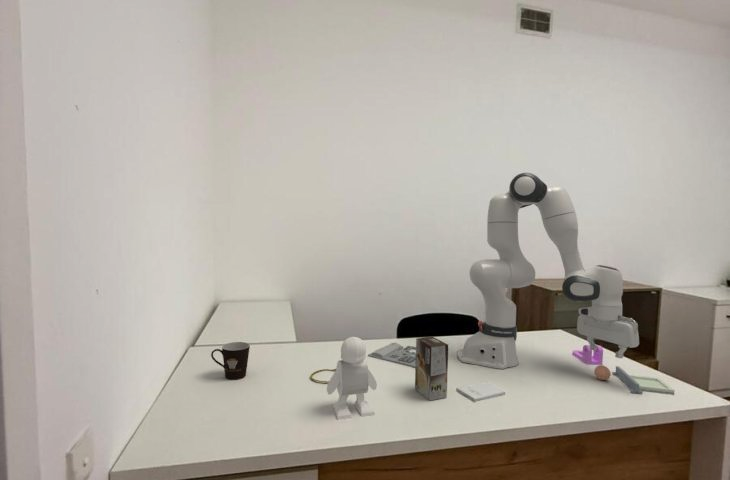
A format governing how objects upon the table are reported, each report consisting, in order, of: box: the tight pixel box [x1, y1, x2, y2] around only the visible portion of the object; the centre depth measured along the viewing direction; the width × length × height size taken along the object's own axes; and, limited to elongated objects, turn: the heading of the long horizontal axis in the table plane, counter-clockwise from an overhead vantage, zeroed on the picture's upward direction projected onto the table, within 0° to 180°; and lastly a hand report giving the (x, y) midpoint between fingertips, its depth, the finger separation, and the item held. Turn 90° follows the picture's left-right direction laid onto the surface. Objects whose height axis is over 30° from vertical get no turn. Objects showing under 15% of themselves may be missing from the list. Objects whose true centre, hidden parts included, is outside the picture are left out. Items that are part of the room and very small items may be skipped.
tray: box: [628, 374, 675, 395], centre depth 127 cm, size 10×10×1 cm
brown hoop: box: [309, 368, 336, 385], centre depth 128 cm, size 12×16×2 cm
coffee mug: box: [210, 341, 251, 381], centre depth 125 cm, size 12×9×10 cm
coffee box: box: [414, 336, 449, 401], centre depth 116 cm, size 9×6×16 cm
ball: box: [593, 364, 612, 381], centre depth 131 cm, size 5×5×5 cm
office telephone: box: [367, 342, 416, 369], centre depth 150 cm, size 23×3×20 cm
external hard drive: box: [455, 381, 506, 403], centre depth 118 cm, size 2×8×12 cm
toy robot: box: [326, 336, 377, 420], centre depth 105 cm, size 14×9×20 cm, turn 107°
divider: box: [611, 365, 643, 395], centre depth 128 cm, size 3×16×3 cm, turn 166°
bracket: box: [572, 344, 604, 366], centre depth 152 cm, size 13×6×7 cm, turn 179°
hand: (605, 353), depth 130 cm, fingers open, 8 cm apart
